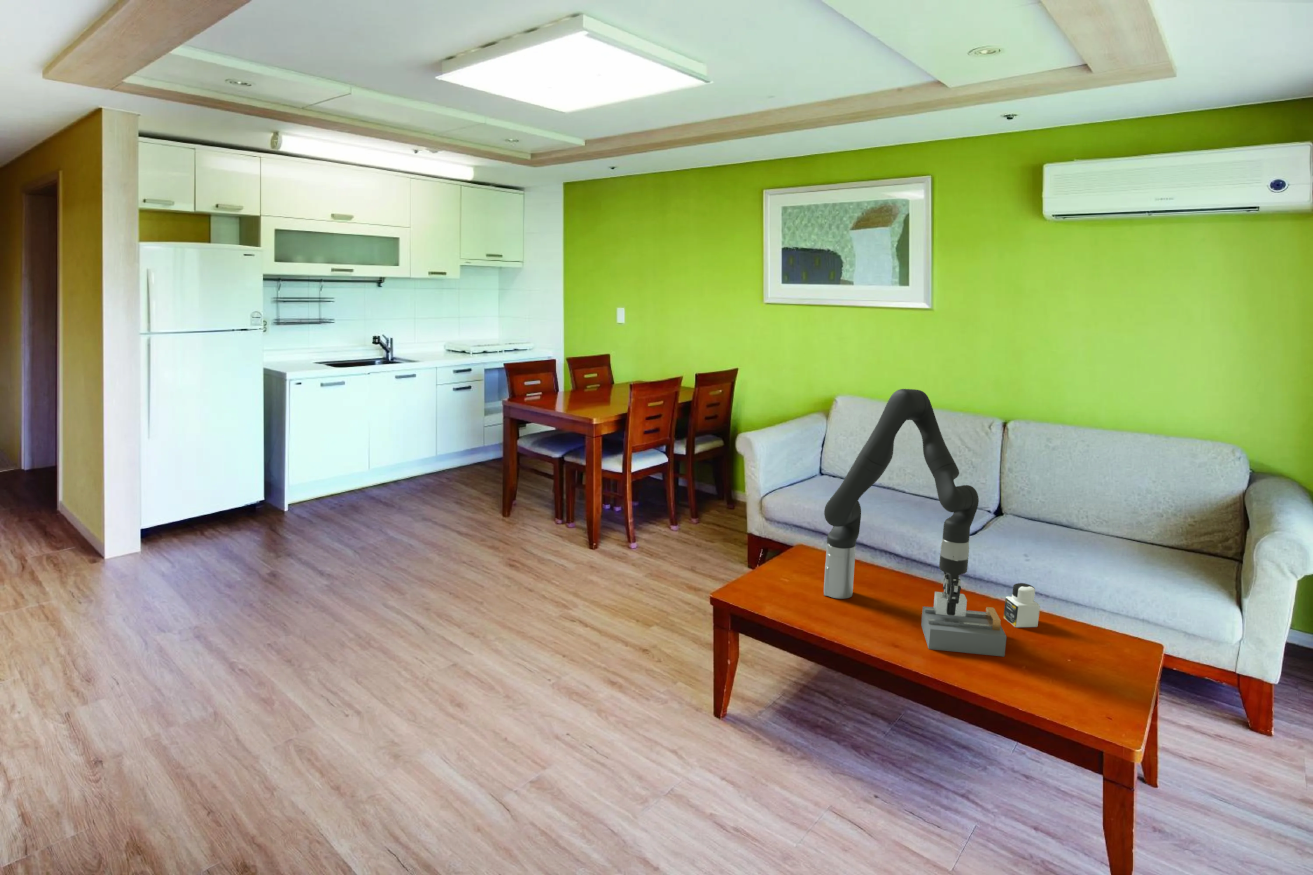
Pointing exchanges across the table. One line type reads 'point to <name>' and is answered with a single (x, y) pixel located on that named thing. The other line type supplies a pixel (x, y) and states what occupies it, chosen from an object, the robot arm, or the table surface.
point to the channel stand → (964, 632)
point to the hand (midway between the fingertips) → (949, 610)
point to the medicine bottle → (1022, 606)
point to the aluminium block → (941, 602)
